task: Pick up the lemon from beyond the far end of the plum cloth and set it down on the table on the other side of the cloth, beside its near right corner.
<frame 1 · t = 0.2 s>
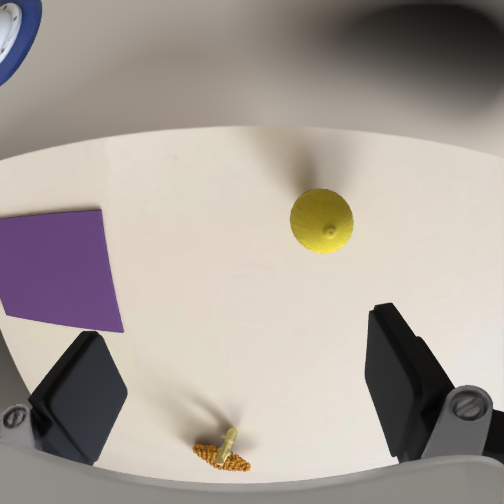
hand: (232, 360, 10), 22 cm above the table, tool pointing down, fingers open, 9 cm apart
ornament: (225, 442, 44), on the table
lemon: (314, 210, 30), on the table
cloth: (41, 272, 34), on the table
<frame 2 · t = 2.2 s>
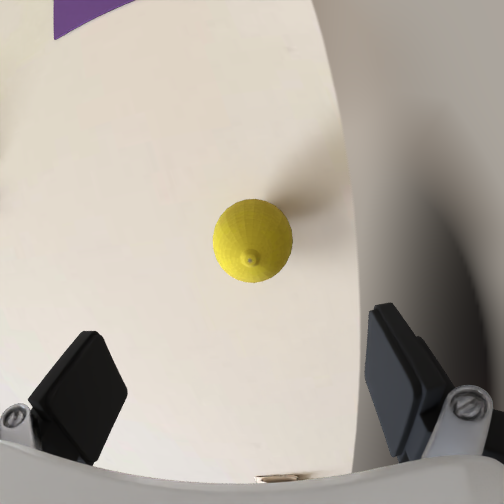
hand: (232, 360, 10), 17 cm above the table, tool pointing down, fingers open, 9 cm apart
lemon: (254, 223, 25), on the table
newspaper: (278, 498, 43), on the table
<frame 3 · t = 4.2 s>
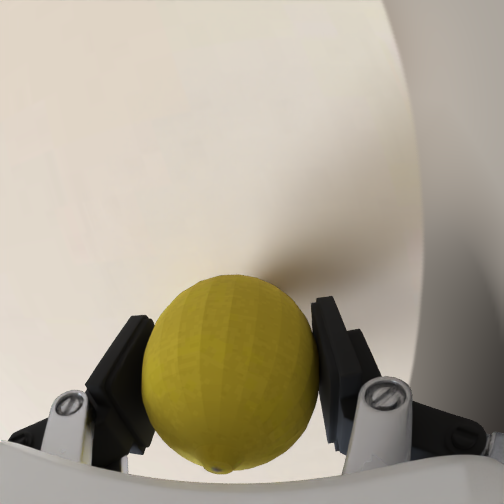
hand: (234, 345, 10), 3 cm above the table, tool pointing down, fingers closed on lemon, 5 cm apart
lemon: (240, 303, 13), on the table, touching gripper
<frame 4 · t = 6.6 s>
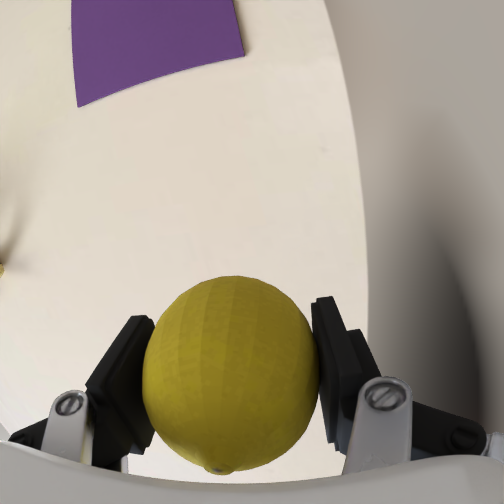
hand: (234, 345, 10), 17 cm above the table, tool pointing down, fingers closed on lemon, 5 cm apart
lemon: (241, 304, 13), point 14 cm above the table, touching gripper
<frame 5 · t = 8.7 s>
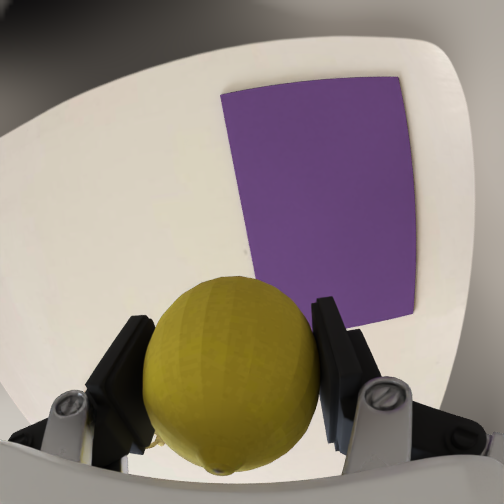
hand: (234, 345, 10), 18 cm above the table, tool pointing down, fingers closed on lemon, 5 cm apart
lemon: (241, 304, 13), point 14 cm above the table, touching gripper
cloth: (335, 214, 26), on the table
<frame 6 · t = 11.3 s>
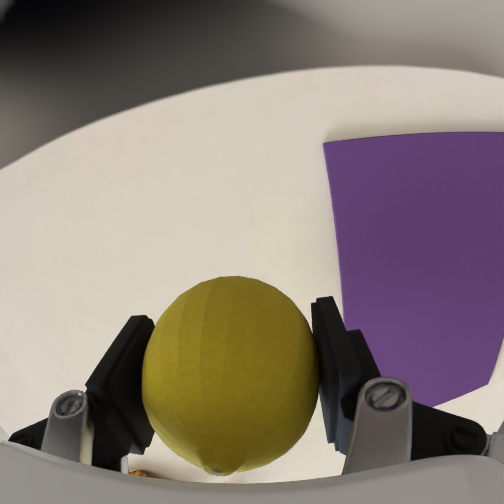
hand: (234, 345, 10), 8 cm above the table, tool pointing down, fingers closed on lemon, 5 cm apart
lemon: (240, 304, 13), point 5 cm above the table, touching gripper
cloth: (444, 302, 19), on the table
when the fingers open (3 cm above the table, at t = 13.2 s): lemon stays where it is, on the table.
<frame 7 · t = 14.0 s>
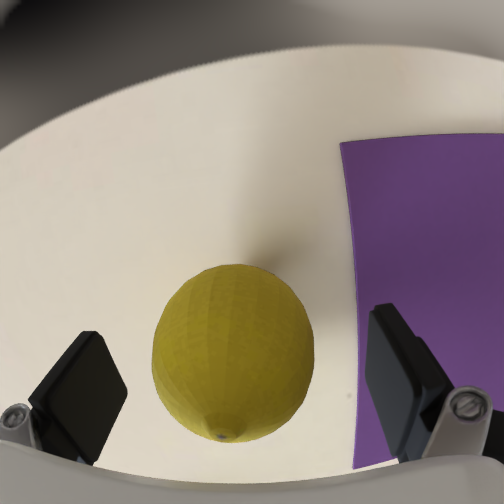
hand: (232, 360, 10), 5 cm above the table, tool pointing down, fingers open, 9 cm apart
lemon: (241, 293, 14), on the table
cloth: (472, 335, 15), on the table
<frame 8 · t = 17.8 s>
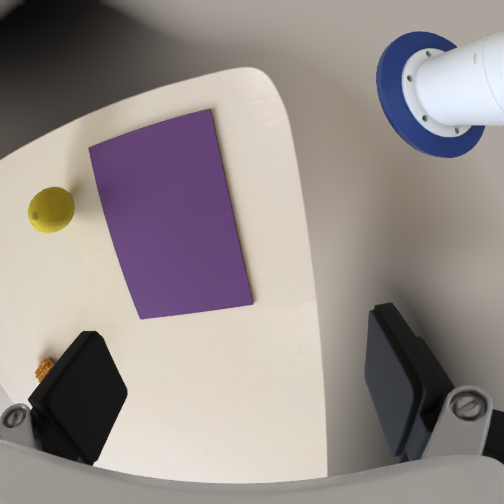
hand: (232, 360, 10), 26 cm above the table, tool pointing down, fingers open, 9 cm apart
ornament: (65, 378, 46), on the table
lemon: (69, 202, 35), on the table
cloth: (167, 224, 36), on the table
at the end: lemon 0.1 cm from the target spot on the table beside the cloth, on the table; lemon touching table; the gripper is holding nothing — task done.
